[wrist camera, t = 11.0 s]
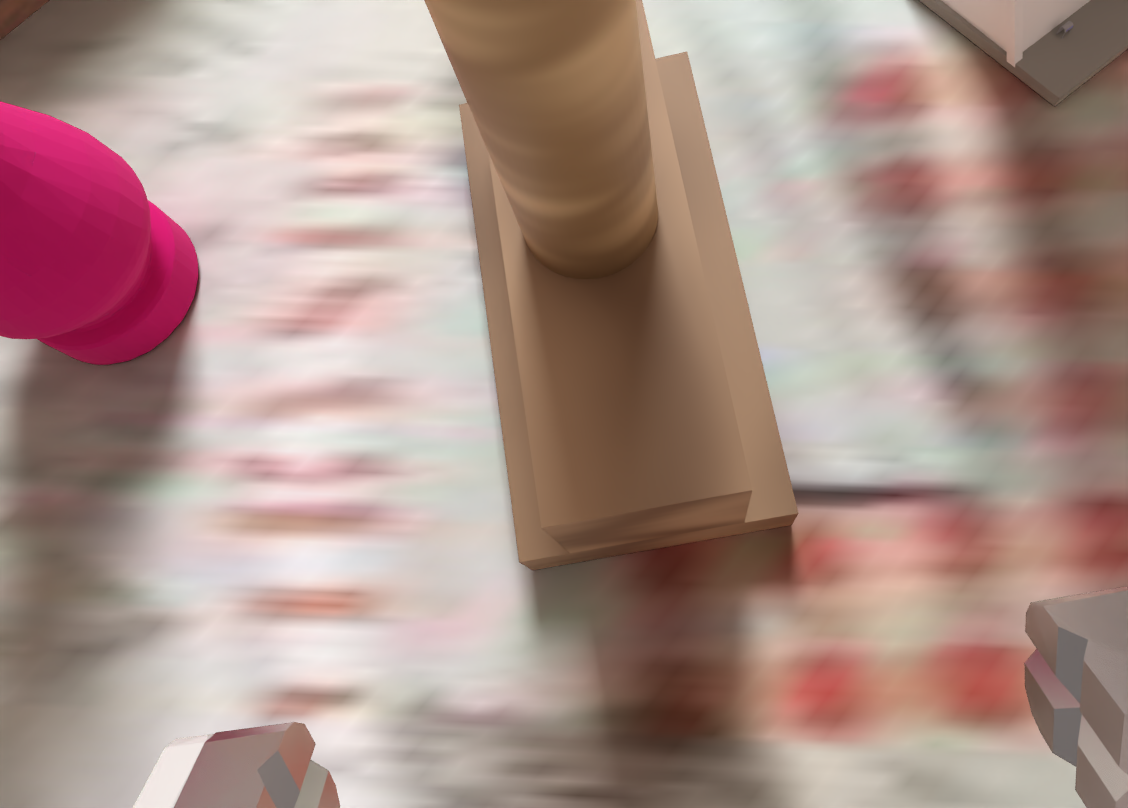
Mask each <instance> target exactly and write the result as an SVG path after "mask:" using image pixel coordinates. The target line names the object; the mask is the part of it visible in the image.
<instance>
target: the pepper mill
mask: <svg viewBox="0 0 1128 808" xmlns="http://www.w3.org/2000/svg"><path fill="white" fill-rule="evenodd" d="M197 280H198V262H197V255H196V252H195V248H194V246H193V244H192V242H191V240H190V238H189V237H188V235H187V234H186V232H185V231H184V230H183V229H182V228H181V227H180V226H179V225H178V224H177V223H175V222H174V221H173V220H172V219H171V218H170V217H168V216H167V215H166V214H165V213H164V212H163V211H161V210H160V209H159V208H158V207H157V206H155V205H154V204H153V203H151V202H150V201H148V200H147V196H146V194H145V191H144V188H143V186H142V184H141V182H140V180H139V179H138V177H137V175H136V174H135V172H134V171H133V169H132V168H131V167H130V166H129V165H128V164H127V163H126V162H125V160H124V159H123V158H122V157H121V156H119V155H118V154H116V153H115V152H114V151H112V150H111V149H109V148H108V147H107V146H105V145H104V144H102V143H101V142H100V141H98V140H97V139H95V138H94V137H93V136H91V135H90V134H89V133H87V132H85V131H82V130H80V129H78V128H76V127H74V126H72V125H69V124H67V123H65V122H63V121H61V120H58V119H56V118H54V117H52V116H49V115H46V114H42V113H39V112H35V111H32V110H28V109H25V108H21V107H18V106H15V105H11V104H8V103H4V102H1V101H0V336H3V337H7V338H12V339H38V340H39V341H41V342H43V343H45V344H47V345H48V346H50V347H52V348H54V349H56V350H58V351H60V352H62V353H64V354H66V355H68V356H70V357H72V358H74V359H77V360H79V361H82V362H87V363H91V364H97V365H108V364H114V363H119V362H125V361H129V360H132V359H134V358H136V357H138V356H140V355H143V354H145V353H147V352H149V351H151V350H152V349H153V348H155V347H156V346H157V345H159V344H160V343H161V342H162V341H164V340H165V339H166V338H168V336H169V335H170V334H171V333H172V332H173V331H174V329H175V328H176V327H177V326H178V325H179V324H180V322H181V321H182V320H183V319H184V317H185V315H186V313H187V311H188V309H189V307H190V305H191V303H192V301H193V298H194V296H195V291H196V286H197Z"/></svg>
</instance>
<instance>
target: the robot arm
mask: <svg viewBox="0 0 1128 808" xmlns="http://www.w3.org/2000/svg"><path fill="white" fill-rule="evenodd" d="M1025 632H1026V633H1027V635H1028V636H1029V638H1030V639H1031V641H1032V642H1033V644H1034V645H1035V647H1036V648H1037V649H1036V650H1035V651H1034V652H1033V654H1032V655H1031V656H1030V657H1029V658H1028V660H1027V661H1026V662H1025V689H1026V693H1027V697H1028V700H1029V704H1030V708H1031V712H1032V715H1033V717H1034V719H1035V721H1036V724H1037V726H1038V728H1039V730H1040V733H1041V734H1042V736H1043V738H1044V739H1045V741H1046V743H1047V744H1048V746H1049V748H1050V749H1051V751H1052V753H1054V754H1055V755H1057V756H1059V757H1060V758H1062V759H1064V760H1066V761H1067V762H1069V763H1071V764H1072V765H1074V766H1076V786H1075V790H1076V791H1077V793H1078V795H1079V796H1080V798H1081V799H1082V801H1083V803H1084V804H1085V806H1086V807H1087V808H1128V587H1119V588H1114V589H1108V590H1102V591H1096V592H1090V593H1084V594H1078V595H1073V596H1067V597H1061V598H1055V599H1049V600H1043V601H1037V602H1031V603H1030V605H1029V608H1028V610H1027V612H1026V626H1025ZM314 747H315V742H314V740H313V738H312V737H311V735H310V733H309V731H308V729H307V728H306V726H305V724H302V723H296V722H291V723H284V724H276V725H269V726H261V727H254V728H247V729H239V730H232V731H224V732H217V733H215V734H210V735H202V736H194V737H186V738H179V739H176V740H174V741H173V742H172V743H170V744H169V745H168V746H167V747H165V748H164V750H163V752H162V753H161V755H160V757H159V759H158V761H157V763H156V765H155V767H154V769H153V770H152V772H151V774H150V776H149V778H148V780H147V782H146V784H145V785H144V787H143V789H142V791H141V793H140V795H139V797H138V799H137V800H136V802H135V804H134V806H133V808H340V803H339V798H338V794H337V789H336V785H335V783H334V781H333V779H332V777H331V775H330V772H329V771H328V770H327V769H325V768H323V767H322V766H320V765H319V764H317V763H315V762H314V761H312V760H310V759H311V756H312V753H313V750H314Z"/></svg>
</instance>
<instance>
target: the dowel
mask: <svg viewBox="0 0 1128 808" xmlns="http://www.w3.org/2000/svg"><path fill="white" fill-rule="evenodd" d="M425 3H426V5H427V7H428V10H429V12H430V15H431V17H432V19H433V22H434V24H435V26H436V29H437V31H438V34H439V36H440V38H441V41H442V43H443V46H444V48H445V50H446V53H447V55H448V57H449V60H450V62H451V65H452V67H453V69H454V72H455V74H456V76H457V79H458V81H459V84H460V86H461V88H462V91H463V93H464V95H465V98H466V100H467V103H468V105H469V107H470V110H471V112H472V114H473V117H474V119H475V122H476V124H477V126H478V129H479V131H480V134H481V136H482V138H483V141H484V143H485V145H486V148H487V150H488V153H489V155H490V157H491V160H492V162H493V164H494V167H495V169H496V172H497V174H498V176H499V179H500V181H501V183H502V186H503V188H504V191H505V193H506V195H507V198H508V200H509V202H510V205H511V207H512V210H513V212H514V214H515V217H516V219H517V222H518V224H519V226H520V229H521V231H522V233H523V236H524V238H525V241H526V243H527V245H528V247H529V249H530V251H531V253H532V254H533V255H534V256H535V258H536V259H537V260H538V261H539V262H540V263H541V264H542V265H544V266H545V267H546V268H548V269H549V270H551V271H553V272H555V273H557V274H560V275H562V276H565V277H570V278H575V279H595V278H601V277H605V276H609V275H611V274H614V273H616V272H619V271H620V270H622V269H624V268H626V267H627V266H629V265H630V264H632V263H633V262H634V261H635V260H636V259H637V258H639V257H640V256H641V254H642V253H643V252H644V251H645V250H646V248H647V247H648V245H649V244H650V242H651V240H652V238H653V236H654V233H655V230H656V227H657V222H658V204H657V195H656V185H655V176H654V167H653V157H652V148H651V138H650V129H649V120H648V110H647V101H646V92H645V82H644V73H643V63H642V54H641V45H640V35H639V26H638V17H637V7H636V0H425Z"/></svg>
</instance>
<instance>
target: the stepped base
mask: <svg viewBox="0 0 1128 808" xmlns="http://www.w3.org/2000/svg"><path fill="white" fill-rule="evenodd" d="M636 7H637V17H638V26H639V35H640V45H641V54H642V63H643V73H644V82H645V92H646V101H647V110H648V120H649V129H650V138H651V148H652V157H653V167H654V176H655V185H656V195H657V204H658V222H657V227H656V230H655V233H654V236H653V238H652V240H651V242H650V244H649V245H648V247H647V248H646V250H645V251H644V252H643V253H642V254H641V256H640V257H639V258H637V259H636V260H635V261H634V262H633V263H632V264H630V265H629V266H627V267H626V268H624V269H622V270H620V271H619V272H616V273H614V274H611V275H609V276H605V277H601V278H595V279H575V278H570V277H565V276H562V275H560V274H557V273H555V272H553V271H551V270H549V269H548V268H546V267H545V266H544V265H542V264H541V263H540V262H539V261H538V260H537V259H536V258H535V256H534V255H533V254H532V253H531V251H530V249H529V247H528V245H527V243H526V241H525V238H524V236H523V233H522V231H521V229H520V226H519V224H518V222H517V219H516V217H515V214H514V212H513V210H512V207H511V205H510V202H509V200H508V198H507V195H506V193H505V191H504V188H503V186H502V183H501V181H500V179H499V176H498V174H497V172H496V169H495V167H494V164H493V162H492V160H491V157H490V155H489V153H488V150H487V148H486V145H485V143H484V141H483V138H482V136H481V134H480V131H479V129H478V126H477V124H476V122H475V119H474V117H473V114H472V112H471V110H470V107H469V105H468V103H465V104H461V105H459V107H460V115H461V123H462V130H463V138H464V146H465V153H466V161H467V168H468V176H469V184H470V191H471V199H472V206H473V214H474V222H475V229H476V237H477V244H478V252H479V260H480V267H481V275H482V282H483V290H484V298H485V305H486V313H487V320H488V328H489V336H490V343H491V351H492V358H493V366H494V374H495V381H496V389H497V396H498V404H499V412H500V419H501V427H502V434H503V442H504V450H505V457H506V465H507V472H508V480H509V488H510V495H511V503H512V510H513V518H514V526H515V533H516V541H517V548H518V556H519V562H520V563H521V564H523V565H525V566H526V567H528V568H530V569H531V570H537V569H543V568H549V567H554V566H560V565H566V564H572V563H577V562H583V561H589V560H594V559H600V558H606V557H612V556H617V555H623V554H629V553H635V552H640V551H646V550H652V549H658V548H663V547H669V546H675V545H681V544H686V543H692V542H698V541H703V540H709V539H715V538H721V537H726V536H732V535H738V534H744V533H749V532H755V531H761V530H767V529H772V528H778V527H784V526H790V525H792V524H793V522H794V520H795V518H796V516H797V515H798V510H797V506H796V502H795V498H794V493H793V489H792V485H791V481H790V477H789V473H788V469H787V464H786V460H785V456H784V452H783V448H782V444H781V440H780V435H779V431H778V427H777V423H776V419H775V415H774V410H773V406H772V402H771V398H770V394H769V390H768V386H767V381H766V377H765V373H764V369H763V365H762V361H761V357H760V352H759V348H758V344H757V340H756V336H755V332H754V327H753V323H752V319H751V315H750V311H749V307H748V303H747V298H746V294H745V290H744V286H743V282H742V278H741V274H740V269H739V265H738V261H737V257H736V253H735V249H734V244H733V240H732V236H731V232H730V228H729V224H728V220H727V215H726V211H725V207H724V203H723V199H722V195H721V191H720V186H719V182H718V178H717V174H716V170H715V166H714V161H713V157H712V153H711V149H710V145H709V141H708V137H707V132H706V128H705V124H704V120H703V116H702V112H701V108H700V103H699V99H698V95H697V91H696V87H695V83H694V78H693V74H692V70H691V66H690V62H689V58H688V54H687V52H683V53H679V54H674V55H670V56H666V57H662V58H657V59H655V56H654V51H653V47H652V43H651V38H650V34H649V29H648V25H647V20H646V16H645V12H644V7H643V3H642V0H636Z"/></svg>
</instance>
